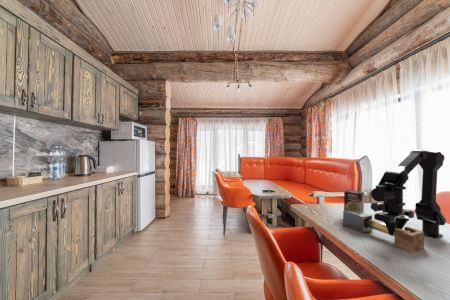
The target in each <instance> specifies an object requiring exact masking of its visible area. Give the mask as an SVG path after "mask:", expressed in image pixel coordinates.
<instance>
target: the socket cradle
mask: <svg viewBox="0 0 450 300" xmlns="http://www.w3.org/2000/svg"><path fill="white" fill-rule="evenodd" d="M403 230H406V231H410V232H412V233H407V232H404V231H401V230H398V229H397V230H395V237H394V247H396V248H399V249H401V250H403V251H406V252H409V253H412V254H413V253H415V252H418V251H421V250H423V249H425V235H424V232H423V231H422V230H420V229H416V228H413V227H408V226H404V227H403Z"/></svg>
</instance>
